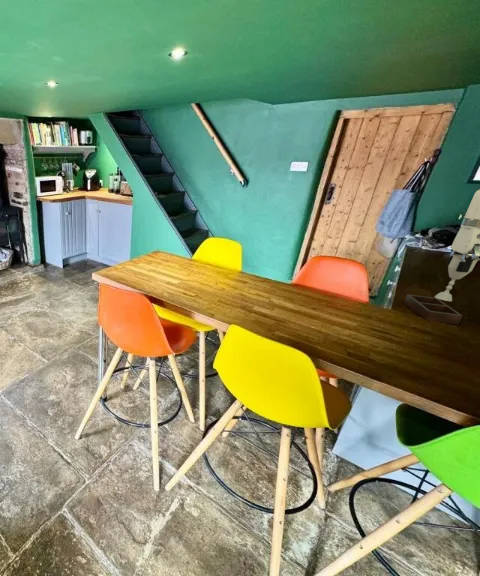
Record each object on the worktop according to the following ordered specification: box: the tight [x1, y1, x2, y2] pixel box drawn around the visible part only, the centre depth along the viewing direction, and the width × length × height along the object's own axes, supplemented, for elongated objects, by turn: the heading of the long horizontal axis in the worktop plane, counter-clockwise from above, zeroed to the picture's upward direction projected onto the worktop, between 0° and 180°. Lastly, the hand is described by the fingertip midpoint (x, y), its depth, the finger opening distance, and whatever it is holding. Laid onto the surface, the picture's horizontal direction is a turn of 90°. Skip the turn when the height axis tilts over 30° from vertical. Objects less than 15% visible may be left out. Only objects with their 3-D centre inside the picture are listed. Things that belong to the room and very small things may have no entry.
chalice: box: [433, 254, 480, 302], centre depth 120 cm, size 7×7×18 cm
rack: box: [403, 293, 463, 325], centre depth 130 cm, size 10×19×5 cm, turn 155°
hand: (456, 268), depth 119 cm, fingers closed on chalice, 6 cm apart
